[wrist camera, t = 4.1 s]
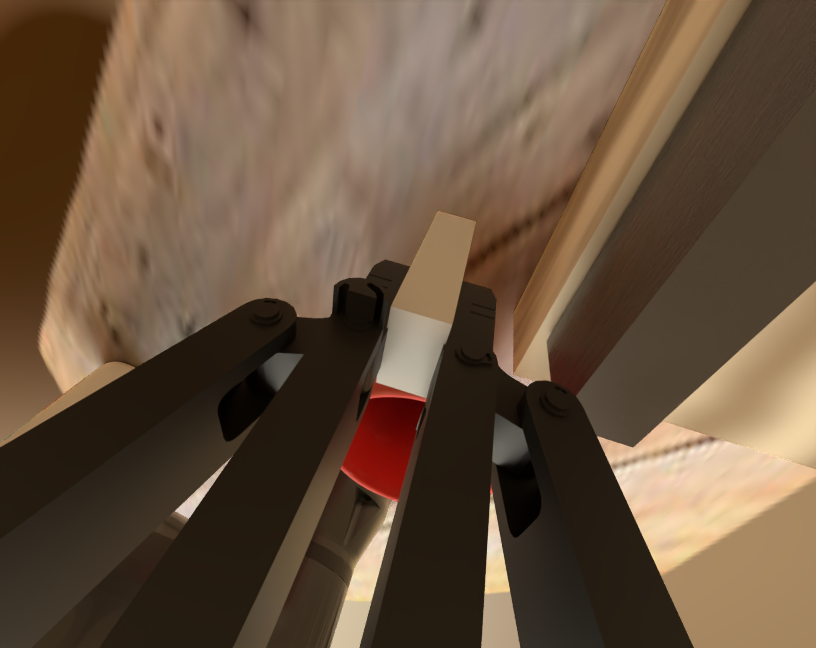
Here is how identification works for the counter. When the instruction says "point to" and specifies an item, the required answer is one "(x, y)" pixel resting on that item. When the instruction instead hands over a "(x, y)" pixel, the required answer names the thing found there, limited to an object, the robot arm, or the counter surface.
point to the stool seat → (604, 206)
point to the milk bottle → (75, 394)
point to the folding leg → (703, 234)
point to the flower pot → (384, 441)
